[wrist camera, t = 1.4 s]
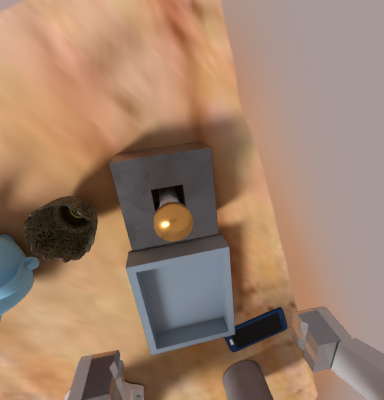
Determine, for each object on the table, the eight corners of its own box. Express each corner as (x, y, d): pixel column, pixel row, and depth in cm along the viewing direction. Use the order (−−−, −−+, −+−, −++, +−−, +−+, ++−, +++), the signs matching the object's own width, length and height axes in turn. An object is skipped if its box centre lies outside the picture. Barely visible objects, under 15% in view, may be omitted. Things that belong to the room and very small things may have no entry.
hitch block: (208, 215, 36) (218, 233, 31) (135, 229, 35) (132, 250, 30) (200, 141, 32) (211, 147, 26) (116, 154, 31) (108, 162, 25)
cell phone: (221, 330, 47) (222, 333, 47) (280, 304, 48) (282, 307, 47) (231, 350, 50) (232, 353, 50) (286, 326, 51) (288, 328, 50)
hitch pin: (181, 197, 34) (195, 237, 23) (155, 201, 34) (157, 244, 23) (177, 172, 33) (190, 202, 22) (150, 177, 32) (150, 210, 21)
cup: (111, 192, 32) (99, 215, 25) (101, 235, 34) (88, 267, 27) (55, 178, 30) (24, 199, 23) (49, 225, 33) (19, 257, 25)
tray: (228, 316, 46) (235, 334, 42) (151, 335, 44) (151, 355, 40) (221, 233, 38) (229, 246, 34) (128, 252, 36) (125, 268, 33)
